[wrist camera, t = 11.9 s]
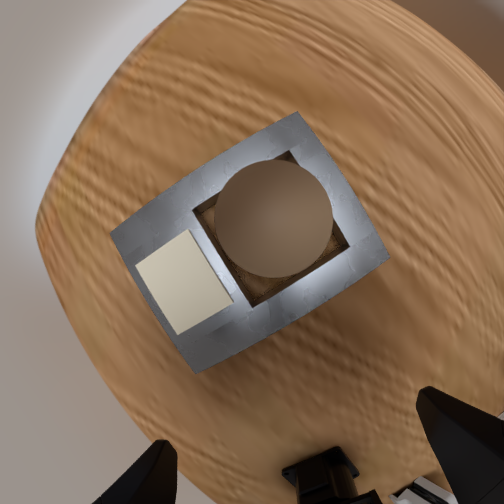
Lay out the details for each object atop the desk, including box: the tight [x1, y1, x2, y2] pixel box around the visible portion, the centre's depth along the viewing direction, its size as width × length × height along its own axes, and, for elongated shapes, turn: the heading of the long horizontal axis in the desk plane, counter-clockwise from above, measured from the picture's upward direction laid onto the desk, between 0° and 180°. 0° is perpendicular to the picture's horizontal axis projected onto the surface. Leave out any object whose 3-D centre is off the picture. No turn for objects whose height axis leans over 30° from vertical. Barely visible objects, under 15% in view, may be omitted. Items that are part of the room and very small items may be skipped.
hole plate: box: [110, 111, 390, 374], centre depth 19 cm, size 12×16×3 cm
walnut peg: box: [214, 160, 333, 278], centre depth 15 cm, size 4×4×10 cm
